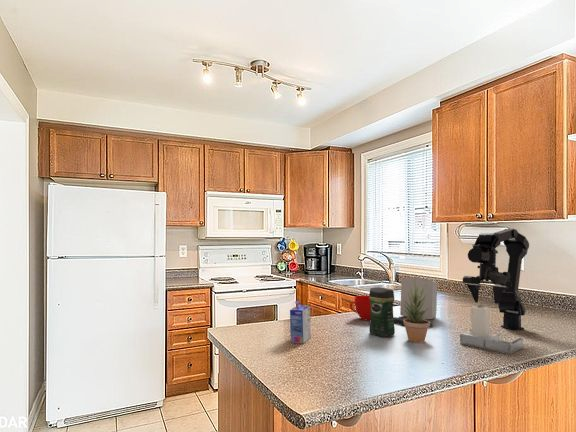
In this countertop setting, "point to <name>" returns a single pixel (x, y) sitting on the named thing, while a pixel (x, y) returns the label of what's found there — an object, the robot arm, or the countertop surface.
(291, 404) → the countertop surface
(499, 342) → the rack
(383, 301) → the coffee jar
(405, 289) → the electrical switch box
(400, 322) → the disk drive
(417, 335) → the potted plant
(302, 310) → the ink cartridge box
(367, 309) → the ceramic cup
